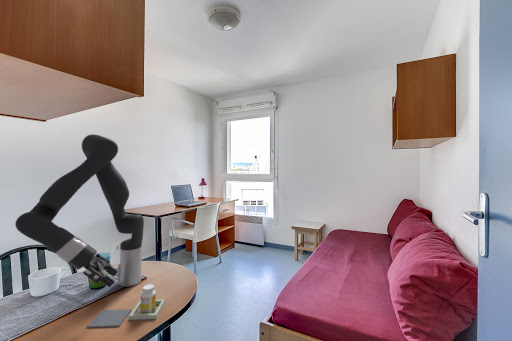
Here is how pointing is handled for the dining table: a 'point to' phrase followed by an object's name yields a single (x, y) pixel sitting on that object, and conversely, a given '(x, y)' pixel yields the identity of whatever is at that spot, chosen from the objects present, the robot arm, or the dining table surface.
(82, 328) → the dining table surface
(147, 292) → the supplement bottle
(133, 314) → the pale green square frame
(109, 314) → the mat
